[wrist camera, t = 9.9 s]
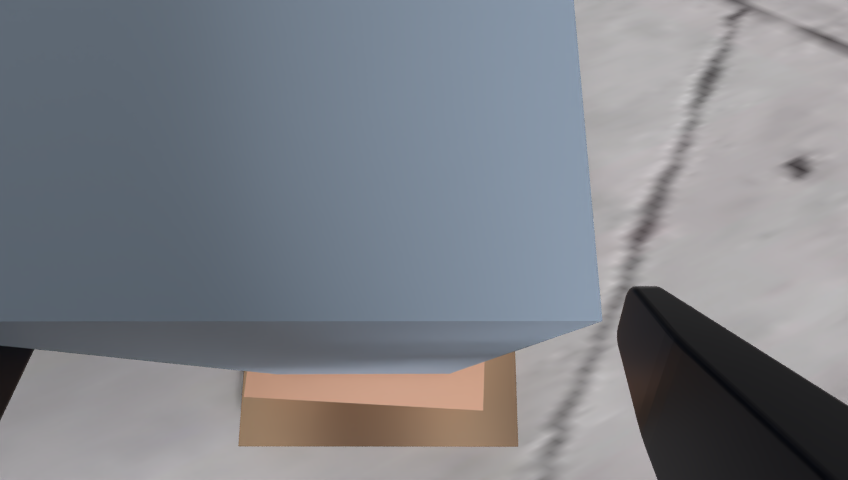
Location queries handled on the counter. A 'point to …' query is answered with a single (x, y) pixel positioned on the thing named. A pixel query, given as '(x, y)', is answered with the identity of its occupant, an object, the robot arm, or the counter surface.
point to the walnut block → (387, 419)
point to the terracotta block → (375, 388)
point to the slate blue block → (293, 182)
